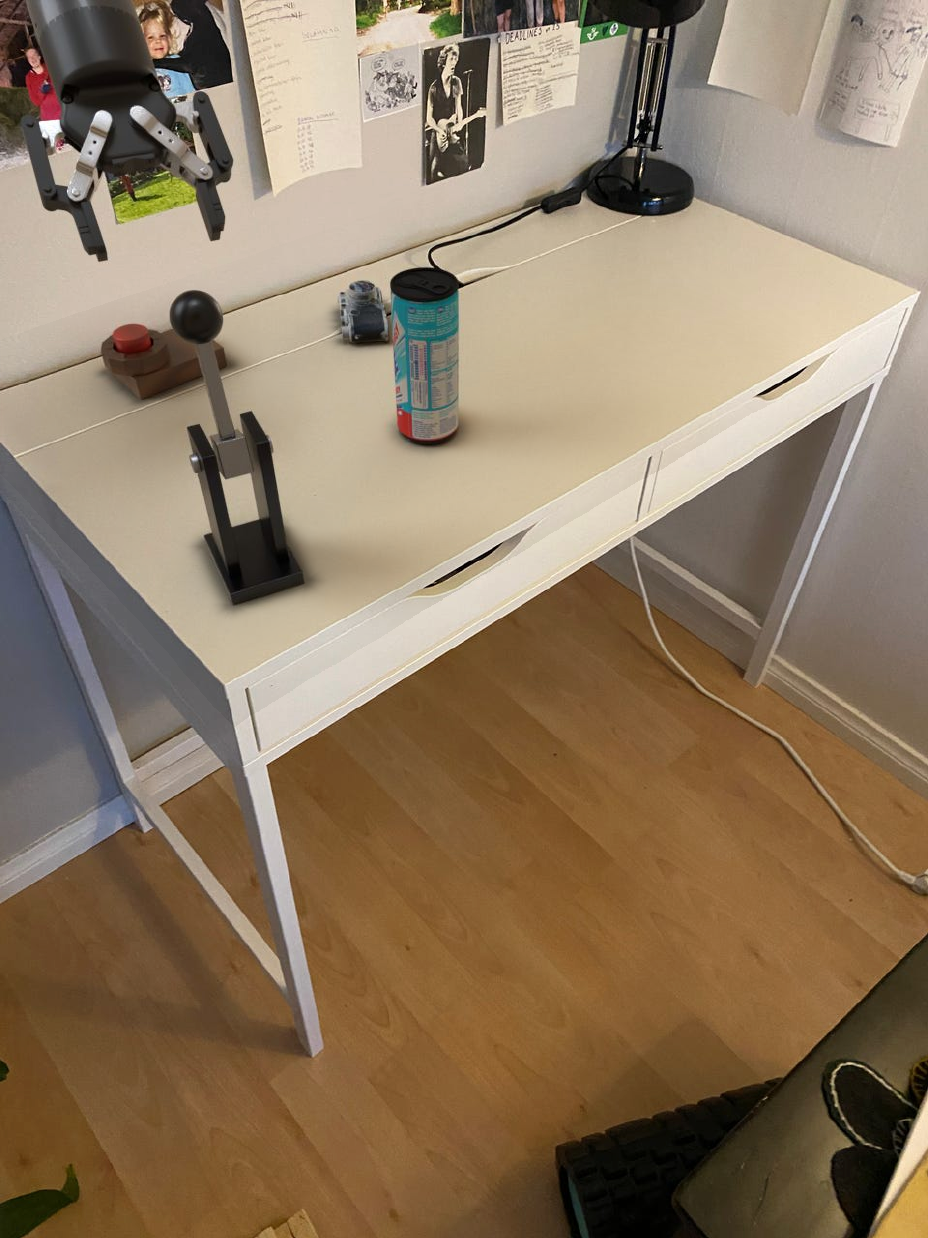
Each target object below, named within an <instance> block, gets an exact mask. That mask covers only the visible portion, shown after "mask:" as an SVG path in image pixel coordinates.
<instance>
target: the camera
mask: <svg viewBox="0 0 928 1238" xmlns="http://www.w3.org/2000/svg"><path fill="white" fill-rule="evenodd" d="M337 302H338V303H337V304H339V306H338V308H339V317H340V322H341V324H340V325H341V338H342V340H349V341H350V343H352V344H353V343H368V342H370V343H371V342H385V341H386V342H387V341H390V331H389V329H390V328H389V322H388V317H387V311H386V305H384V301H383V295H382V290H381V288H380V287H378V286H376V285H375V283H373V282H371V281H370V280H364V279H363V280H355V281H353V282H351V283H350V284H349V285H348V288H346V289H345V290H344V291H341V292H339V293H338V294H337Z"/></svg>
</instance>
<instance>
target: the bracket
mask: <svg viewBox="0 0 928 1238" xmlns="http://www.w3.org/2000/svg"><path fill="white" fill-rule="evenodd" d="M239 419H240V425H241V430H242V434H243V435H244V436H245V437H246V441H247V445H248V449H249V453H250V457H251V461H252V465H253V469H254V472H252V473H250V478H251V483H252V488H253V494H254V499H255V504H256V508H257V514H258V519H255V520H251V521H248V522H244V523H241V524H237V525H234V526H232V524H231V523H232V522H231V517H230V514H229V509H228V504H227V501H226V500H227V499H226V496H225V491H224V487H223V482H222V477H221V473H220V471H219V468H218V463H217V458H216V455H215V453H214V451H213V447H212V444H211V442H210V441H209V439H208V438H207V435H206V433H205V431H204V429H203V427H202V425H201V424H200V423H197V424H192V425H189V426H188V425H187V426H186V431H187V435H188V439H189V443H190V447H191V452H192V454H189V455H188V457H189V462H190V466H191V468H192V470H193V472H194V474H197V476H198V482H199V485H200V489H201V494H202V497H203V502H204V506H205V510H206V514H207V519H208V523H209V527H210V531H211V532H209V533H205V534H203V540H204V543H205V547H206V550H207V551H208V553H209V555H210V558H211V560H212V562H213V565H214V566H215V569H216V571H217V574H218V576H219V578H220V580H221V582H222V584H223V587H224V589H225V592H226V594H227V595H228V598H229V600H230V603H231V604H232V605H237V604H240V603H244V602H247V601H250V600H253V599H256V598H259V597H262V596H265V595H269V594H273V593H276V592H278V591H282V590H285V589H289V588H291V587H295V586H297V585H302V584H304V583H305V578H304V577H305V576H304V571H303V570H302V567H301V566H300V564H299V562H298V560H297V559H296V556H295V554H294V553H293V551H292V549H291V548H290V546H289V544H288V542H287V536H286V531H285V524H284V519H283V513H282V507H281V500H280V494H279V487H278V483H277V476H276V472H275V471H276V470H275V464H274V458H273V454H274V445H273V443H272V439H271V437H270V436H269V434H266V432H265V431H264V429H263V428H262V426H261V424H260V422H259V420H258V418H257V417H256V415H255V414H254V412H253V411H252V410H249V411H245V412H241V413H239Z"/></svg>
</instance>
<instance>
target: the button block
mask: <svg viewBox="0 0 928 1238" xmlns="http://www.w3.org/2000/svg"><path fill="white" fill-rule="evenodd" d="M147 329H148V333H149V337H150V341H151V347H150V348H149V349H148V350H146V351H143V352H141V353H138V354H123V353H119V352H118V351H117V348H116V345H115V341H114V338H113V334H111V335H109V336H108V337H107V338H106V339H105V340H104V341H102V342H101V347H100V353H101V358H102V360H103V365H104V368H106V369H107V370H108V372H109V373H110V374H111V375H112V376H114V377H115V378H116V379H117V380H118V381H120V382H121V384H123V385H124V386H125V387H126V388H128V389H129V390H130V391H131V392H132V393H133V394H134V395H135V396H137V398H139V399H140V400H143V399H144V400H145V399H147V398H149V397H152V396H154V395H157V394H159V393H162V392H165V391H166V390H169V389H171V388H172V389H173V388H175V387H177V386H179V385H182V384H185V383H187V382H189V381H193V380H195V379H197V378H198V379H199V378H200V377H203V375H202V371H201V367H200V363H199V359H198V356H197V352H196V348H195V344H192V343H189V342H186V341H185V340H183V339H181V338H180V337H179V336H178V335H177V334H176V333H175V331H174V330H173V328H171V329H168V330H165V331H162V332H160V331H158V330H155V329H149V328H147ZM212 344H213V348H214V352H215V356H216V360H217V364H218V368H219V370H221V369H223V368H226V367H228V364H227V363H228V362H227V359H226V353H225V348H224V346H222V345H221V344H220V343H218V342H217V341H215V339H214V340H212Z"/></svg>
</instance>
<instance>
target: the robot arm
mask: <svg viewBox="0 0 928 1238" xmlns="http://www.w3.org/2000/svg"><path fill="white" fill-rule="evenodd" d="M25 2H26V7H27V12H28V15H29V18H30V21H31V24H32V27H33V34H34V38H35V40H36V43H37V45H38V47H39V48H40V51H41V54H42V58H43V60H44V63H45V66H46V69H47V72H48V75H49V78H50V82H51V85H52V87H53V90H54V93H55V97H56V99H57V102H58V105H59V108H60V116H59V119H52V120H51V119H50V120H40V121H39V120H38V118H37V117H36V116H35V115H33V114H24V115H23V116H22V117H21V119H20V125H21V130H22V135H23V137H24V142H25V146H26V149H27V152H28V156H29V160H30V164H31V167H32V172H33V175H34V179H35V182H36V186H37V190H38V193H39V198H40V201H41V204H42V207H43V209H45V210H46V211H48V212H56V211H58V210H59V211H63V212H67V213H69V214H70V215H71V216H72V218H73V220H74V224H75V226H76V229H77V232H78V236H79V238H80V241H81V244H82V247H83V250H84V251H85V252H86V253H87V255H88V256H93V255H94V256H95V257H96V260H97V262H98V263H101V262H106V261H107V262H108V261H109V260H108V259H109V256H108V251H107V247H106V243H105V241H104V239H103V238H104V237H103V235H102V232H101V229H100V226H99V223H98V219H97V217H96V214H95V211H94V208H93V205H92V200H93V198H94V197H93V196H94V194H95V193H96V192H97V191H98V189H99V187H100V184H101V181H102V178H103V176H104V174H105V173H106V174H108V175H112V176H113V178H120V177H124V176H127V175H129V174H131V173H133V172H138V173H149V172H155V171H156V168H157V167H159V166H160V167H162V168H163V169H165V170H166V171H167V172H168V173H170V174H171V176H173V177H175V178H176V179H181V180H182V181H184V182H185V183H186V184H187V185H189V186H190V187H191V188H193V189H194V190H195V201H196V203H197V205H198V209H199V211H200V215H201V218H202V221H203V224H204V227H205V230H206V233H207V236H208V239H209V241H210V242H214V241H220V240H221V235H222V232H224V231H225V226H226V213H225V210H224V208H223V207H224V206H223V204H222V202H221V198H220V195H219V192H218V188H217V186H218V185H220V184H222V183H228V182H229V181H231V177H232V169H233V165H234V157H233V154H232V152H231V149H230V148H229V145H228V141H227V140H226V137H225V135H224V131H223V129H222V126H221V125H220V124H221V123H220V122H219V119H218V116H217V114H216V112H215V108H214V105H213V103H212V101H211V99H210V96H209V94H208V93H206V92H205V91H201V90H197V91H196V92H194V93H193V96H192V98H193V99H188V100H184V101H179V102H174V103H173V102H172V101H171V100H170V99H169V98H168V97H167V96H166V94H165V93H164V91H163V89H162V85H161V82H160V79H159V77H158V74H157V69H156V67H155V64H154V62H153V58H152V55H151V52H150V49H149V46H148V43H147V40H146V37H145V34H144V31H143V27H142V24H141V21H140V19H139V18H140V17H139V15H138V13H137V10H136V6H135V4H134V1H133V0H25ZM177 122H181V123H182V124H183V123H184V125H186V127H187V128H188V130H189V131H190V132H192V133H193V134H198V136H199V138H200V140H201V144H202V145H203V149H204V150H205V154H206V156H207V158H208V162H205V161H204V160H203V159H201V158H200V157H199V156H198V155H197V154H196V153H194V152H193V151H192V150H191V149H190V146H188V143H186V142H185V141H184V140H182V139H181V138H180V137H179V136H178V135H176V134H175V133H174V132H175V130H176V127H177ZM62 139H63V140H64V141H65V142H66V143H67V144H68V145H69V146H71V148H73V149H74V150H75V151H76V152H78V153H79V156H78V157H77V161H76V166H75V170H74V172H73V175H72V177H71V179H70V182H69V184H68V186H67V185H61V184H56V181H55V177H54V173H53V170H52V167H51V162H50V159H49V156H53V155H54V154H55V153H56V152H57V143H58V142H59V141H60V140H62Z"/></svg>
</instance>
